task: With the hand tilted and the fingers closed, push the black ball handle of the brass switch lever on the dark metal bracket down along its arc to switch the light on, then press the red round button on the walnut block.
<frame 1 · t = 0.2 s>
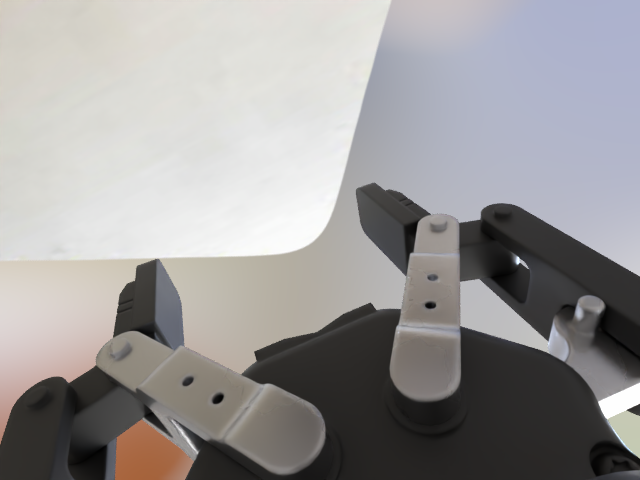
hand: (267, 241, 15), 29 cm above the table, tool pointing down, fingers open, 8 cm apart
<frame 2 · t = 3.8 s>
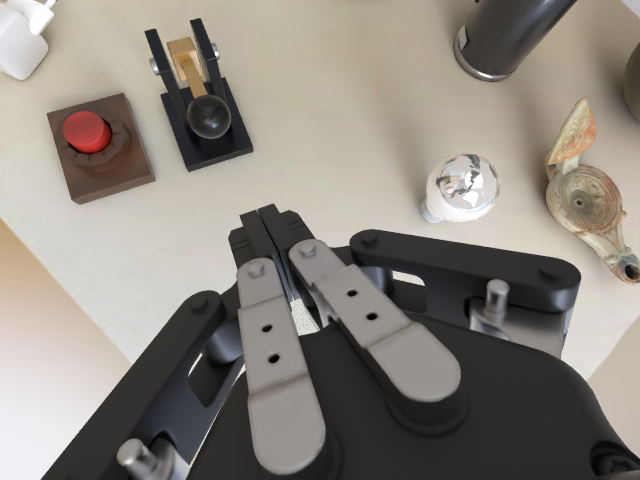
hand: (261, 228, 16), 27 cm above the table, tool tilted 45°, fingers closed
cantaloupe: (634, 108, 53), on the table
oil lamp: (567, 212, 48), on the table
button: (87, 132, 39), point 4 cm above the table, slide at 0.1 cm
light bulb: (428, 213, 46), on the table
power adapter: (39, 45, 45), on the table
switch bracket: (208, 126, 45), on the table
button block: (104, 150, 43), on the table
lever: (196, 85, 31), point 14 cm above the table, hinge at 25.0°
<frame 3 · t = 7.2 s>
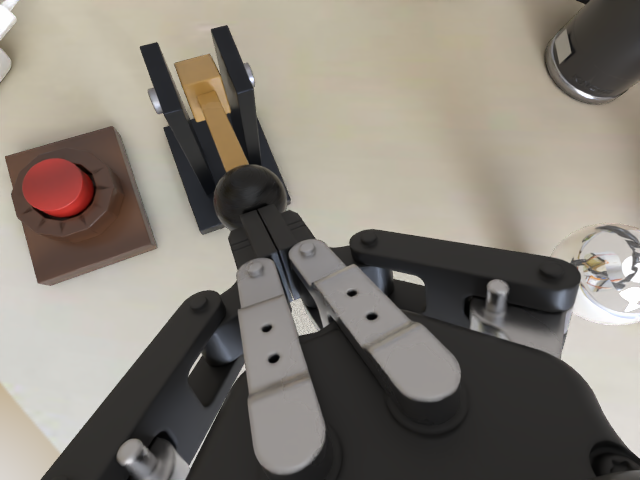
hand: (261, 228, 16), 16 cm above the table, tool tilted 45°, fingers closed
button: (59, 188, 27), point 4 cm above the table, slide at 0.1 cm
light bulb: (526, 287, 34), on the table
switch bracket: (228, 169, 33), on the table
button block: (87, 206, 31), on the table
lever: (224, 137, 19), point 14 cm above the table, hinge at 24.3°, touching gripper
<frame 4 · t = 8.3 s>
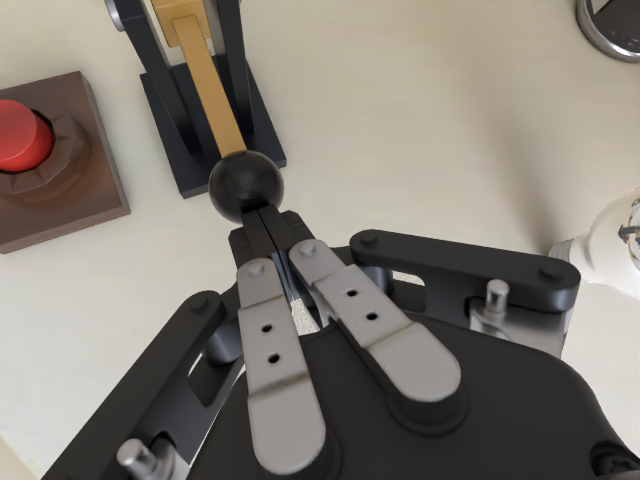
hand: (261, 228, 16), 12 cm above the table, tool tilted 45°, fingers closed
button: (10, 136, 23), point 4 cm above the table, slide at 0.1 cm
light bulb: (554, 265, 30), on the table
switch bracket: (215, 125, 29), on the table
button block: (49, 164, 27), on the table
lever: (210, 91, 17), point 12 cm above the table, hinge at 0.0°, touching gripper
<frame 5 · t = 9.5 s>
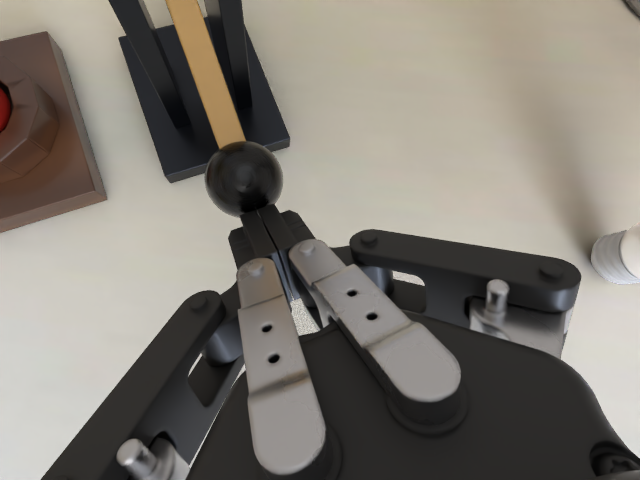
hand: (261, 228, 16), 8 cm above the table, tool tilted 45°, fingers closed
light bulb: (596, 262, 26), on the table
switch bracket: (207, 98, 25), on the table
button block: (11, 141, 23), on the table
lever: (202, 60, 15), point 10 cm above the table, hinge at -20.0°, touching gripper
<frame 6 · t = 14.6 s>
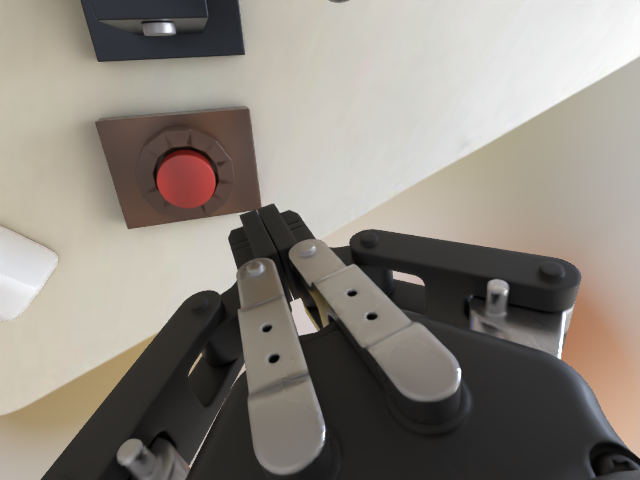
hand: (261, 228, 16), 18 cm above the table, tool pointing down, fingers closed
button: (186, 179, 28), point 4 cm above the table, slide at 0.1 cm
button block: (187, 165, 31), on the table
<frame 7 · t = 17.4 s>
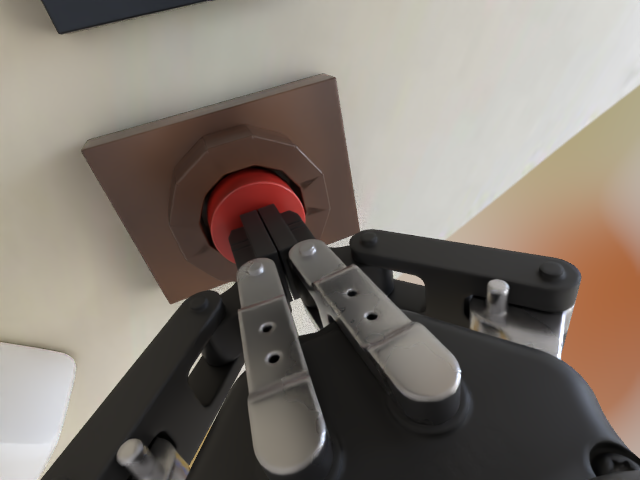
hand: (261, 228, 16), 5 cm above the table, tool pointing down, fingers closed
button: (256, 218, 16), point 4 cm above the table, slide at -0.3 cm, touching gripper
button block: (241, 187, 19), on the table
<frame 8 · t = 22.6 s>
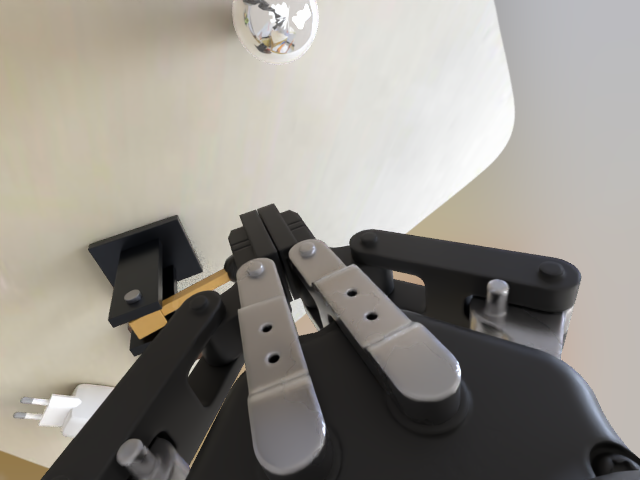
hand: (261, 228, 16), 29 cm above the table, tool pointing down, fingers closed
light bulb: (254, 18, 37), on the table
power adapter: (75, 389, 51), on the table
switch bracket: (149, 256, 45), on the table
lever: (196, 290, 38), point 10 cm above the table, hinge at -13.7°
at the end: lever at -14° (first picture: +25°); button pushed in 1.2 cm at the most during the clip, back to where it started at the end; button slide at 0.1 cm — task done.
